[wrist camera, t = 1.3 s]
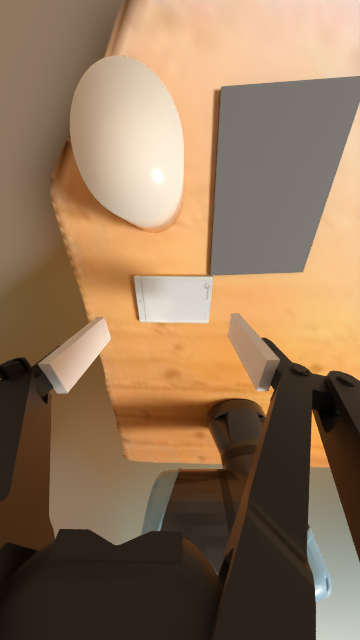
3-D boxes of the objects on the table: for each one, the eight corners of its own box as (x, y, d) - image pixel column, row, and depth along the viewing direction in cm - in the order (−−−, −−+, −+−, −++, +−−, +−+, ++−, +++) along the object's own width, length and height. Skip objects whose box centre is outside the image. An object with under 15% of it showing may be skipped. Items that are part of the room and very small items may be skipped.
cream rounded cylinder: (183, 231, 20) (184, 217, 12) (128, 234, 20) (91, 221, 12) (182, 151, 16) (182, 49, 8) (114, 155, 16) (49, 60, 8)
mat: (299, 271, 22) (302, 272, 21) (209, 274, 22) (210, 275, 22) (361, 82, 14) (368, 75, 13) (219, 92, 14) (221, 86, 14)
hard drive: (213, 276, 21) (132, 276, 21) (208, 324, 25) (139, 323, 25) (211, 275, 23) (136, 274, 23) (207, 319, 26) (141, 319, 26)
